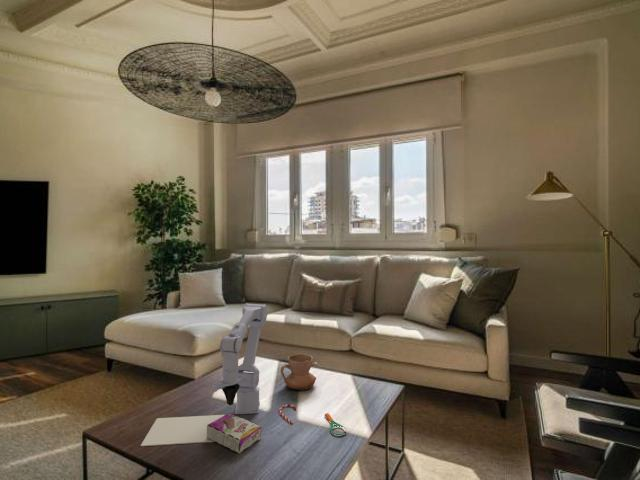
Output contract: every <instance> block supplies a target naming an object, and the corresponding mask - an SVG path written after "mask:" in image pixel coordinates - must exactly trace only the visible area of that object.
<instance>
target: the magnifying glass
mask: <svg viewBox="0 0 640 480" xmlns="http://www.w3.org/2000/svg"><path fill="white" fill-rule="evenodd" d="M325 416H326V417H327V419H328V420H329V421H330V422H331V424H330V426H329V432H330V431H331V432H332V433H333V432H334V431H333V430H332V428H333V427H335V426H333V424H336V427H337V426H339V427H340V426H341V427H344V428H345V429H346V427H345V426H343V425H341V424H340V423H338V422H336V421H335V420H334V419H333V417H332V416H331V414H330V413H329V412H327V413H324V417H325ZM326 417H325V418H326ZM327 419H326V420H327ZM328 420H327V421H328ZM329 421H328V422H329ZM346 430H347V429H346ZM342 433H343V432H342ZM333 434H336V435H342V434H341V433H335V432H334V433H333ZM343 434H344V433H343Z"/></svg>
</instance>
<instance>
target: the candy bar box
mask: <svg viewBox="0 0 640 480" xmlns="http://www.w3.org/2000/svg"><path fill="white" fill-rule="evenodd" d="M224 415H225V416H223V417H221V418H219V419H217V420H216V421H214V422H212V423H210V424H208V425H207V438H209V439H211V440H213V441H215V443H217V444H219V445H221V446H223V447H225V448H227V449H229V450H231V451H233V452H235V453H237V454H241V453H242V452H244V451H245V450H246V449H248V448H249V447H251V446H253V445H254V444H255V443H257V442H258V441H259V440H261V439H262V426H261V425H259V424H257V423H254V422H252V421H250V420H247V419H245V418H243V417H240V416H238V415H237V414H234V413H230V412H228V413H227V414H224Z"/></svg>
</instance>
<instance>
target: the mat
mask: <svg viewBox="0 0 640 480" xmlns="http://www.w3.org/2000/svg"><path fill="white" fill-rule="evenodd" d="M225 415H226V414H215V415H212V414H211V415H197V416H196V415H195V416H194V415H193V416H192V415H191V416H177V417H176V416H175V417H172V416H171V417H158V418H156V419H155V421H154V422H153V424H152V426H151V427H150V430H149V431H148V433H147V434H146V436H145V438H144V439H143V441H142V442H141V444H140V447H153V446H155V447H156V446H169V445H170V446H171V445H187V444H201V443H214V442H215V441H213V440H211V439H209V438H207V425H208V424H210V423H212V422H214V421H216V420H217V419H219V418H221V417H223V416H225ZM215 443H216V442H215Z"/></svg>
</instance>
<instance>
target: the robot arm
mask: <svg viewBox="0 0 640 480" xmlns="http://www.w3.org/2000/svg"><path fill="white" fill-rule="evenodd" d="M241 311H242V313H241V314H242V316H241V318H240V320H239V322H237V323H236V324H234V325H233V326H232V328H231V330H230V331H229V333H228V335H226V336H224V337H222V338H221V340H220V342H219V343H220V345H219V349H220V355H221V357H222V379H221V380H219V381H218V382H216V383H214V384H212V385H211V391H212V392H215V393H216V392H218V391H219V390H222V393H223V394H224V396H225V399H226V400H225V401H226V404H227V405H229V406H233V405H234V402H235V398H236V405H235V406H236V407H235V411H234V415H246V414H247V415H248V414H250V415H252V414H259V411H260V406H261V405H260V404H261V402H260V387H258V386H259V381H260V370H259V368H258V367H257V366H256V365H255V362H256V356H257V352H258V346H259V341H260V336H261V331H262V328H263V326H265V325H266V322H267V318H268V311H269V310H268V307H267V304H265V303H264V304H260V303H258V304H256V303H244V305H243V307H242V310H241ZM248 326H249V332H248ZM247 332H248V335H247ZM246 335H247V341H246V345H245V349H244V351H245V352H244V355H243V360H242V363H241V364H240V365H239V352H240V351H241V349H242V344H243V340H244V338H245V336H246Z"/></svg>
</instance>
